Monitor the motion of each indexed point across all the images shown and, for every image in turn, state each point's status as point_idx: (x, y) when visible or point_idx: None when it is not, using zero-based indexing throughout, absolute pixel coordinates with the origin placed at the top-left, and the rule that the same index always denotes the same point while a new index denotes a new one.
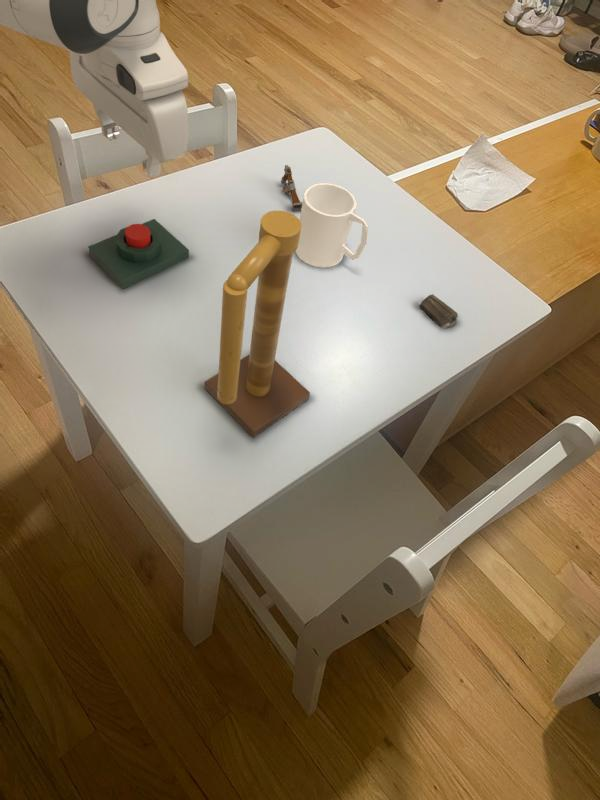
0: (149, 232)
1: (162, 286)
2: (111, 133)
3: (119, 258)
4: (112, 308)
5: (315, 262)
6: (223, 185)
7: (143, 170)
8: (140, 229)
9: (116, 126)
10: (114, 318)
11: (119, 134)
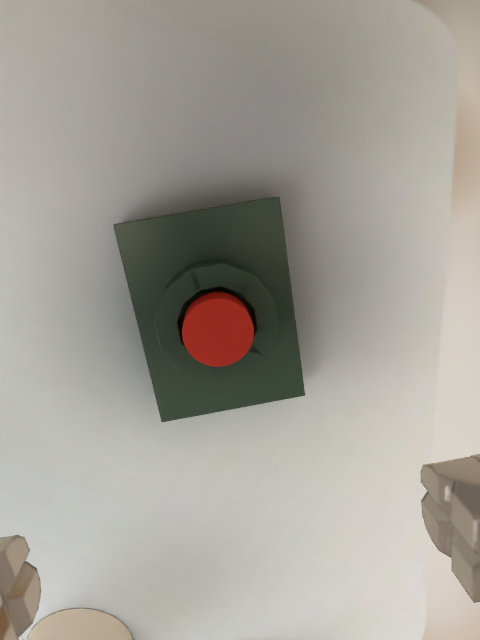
0: (200, 361)
1: (95, 314)
2: (451, 512)
3: (199, 254)
4: (62, 166)
5: (33, 634)
6: (359, 570)
7: (8, 541)
8: (223, 344)
9: (473, 586)
10: (25, 155)
11: (434, 543)
